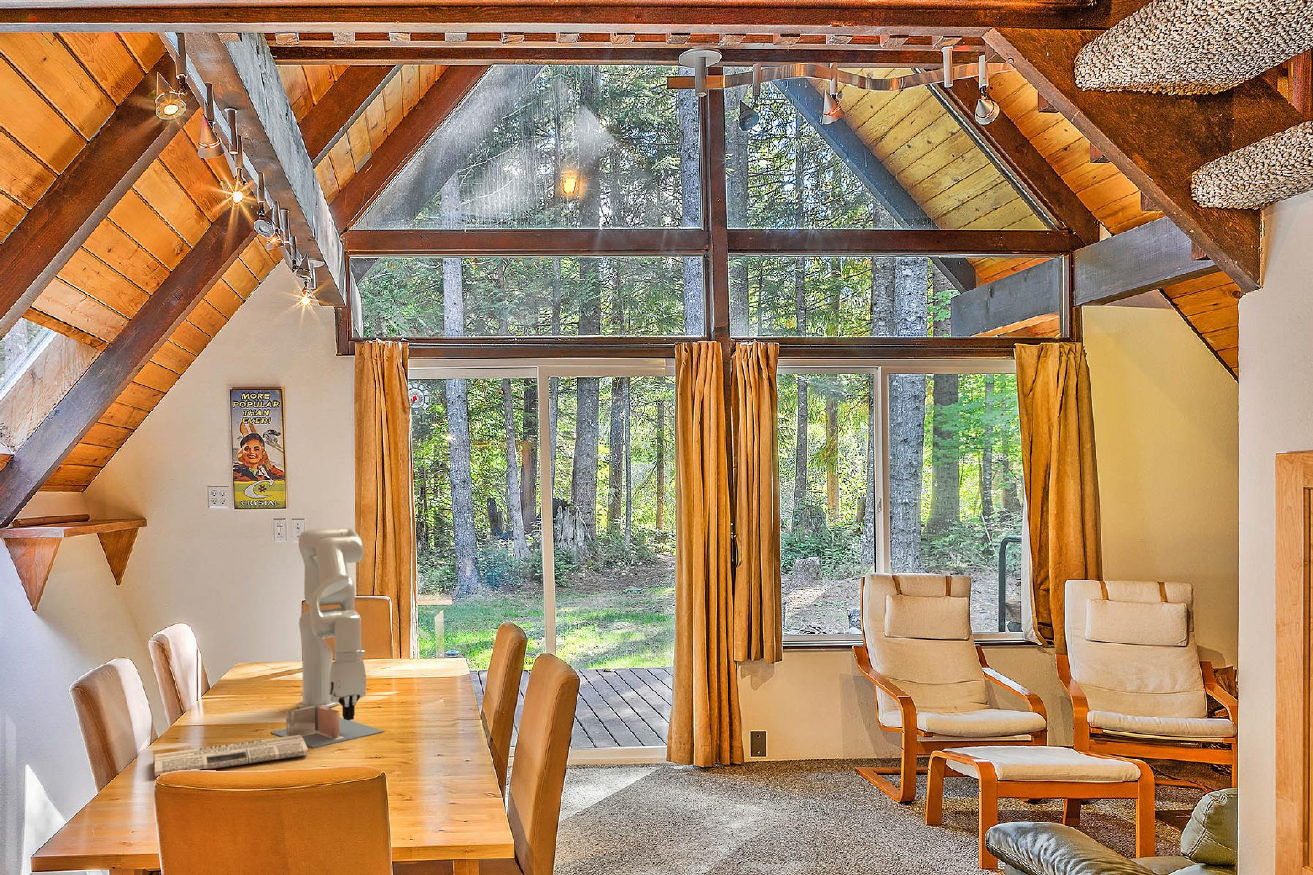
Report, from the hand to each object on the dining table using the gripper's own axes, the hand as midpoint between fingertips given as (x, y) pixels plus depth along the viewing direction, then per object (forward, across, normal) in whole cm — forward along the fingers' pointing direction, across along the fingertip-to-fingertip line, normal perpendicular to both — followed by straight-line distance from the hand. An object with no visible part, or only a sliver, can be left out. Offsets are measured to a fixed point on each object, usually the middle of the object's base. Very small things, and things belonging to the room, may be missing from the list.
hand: (348, 719), depth 295 cm
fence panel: (+3, +6, -2) cm, 7 cm away
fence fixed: (+4, +11, -8) cm, 14 cm away
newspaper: (+4, +35, 0) cm, 35 cm away
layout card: (+4, +4, -6) cm, 8 cm away
